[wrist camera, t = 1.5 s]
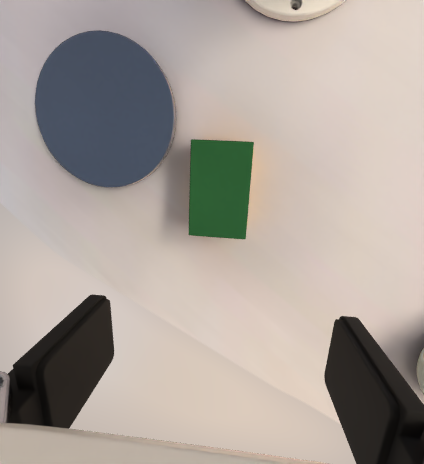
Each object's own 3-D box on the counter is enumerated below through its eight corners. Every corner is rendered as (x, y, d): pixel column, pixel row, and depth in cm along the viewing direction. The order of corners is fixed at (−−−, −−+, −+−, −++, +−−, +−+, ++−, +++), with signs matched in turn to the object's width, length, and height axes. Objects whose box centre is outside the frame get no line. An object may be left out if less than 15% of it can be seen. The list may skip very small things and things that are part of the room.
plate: (38, 38, 23) (25, 29, 22) (178, 39, 22) (174, 30, 21) (54, 182, 27) (44, 183, 25) (176, 189, 26) (173, 191, 24)
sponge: (198, 143, 24) (190, 139, 21) (251, 145, 24) (253, 141, 20) (195, 225, 26) (188, 235, 23) (244, 228, 26) (245, 239, 22)
